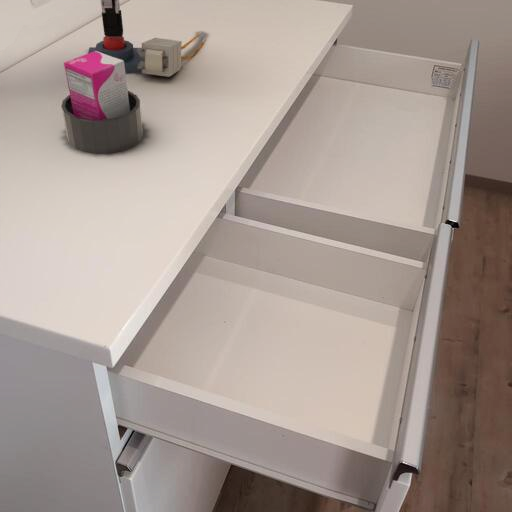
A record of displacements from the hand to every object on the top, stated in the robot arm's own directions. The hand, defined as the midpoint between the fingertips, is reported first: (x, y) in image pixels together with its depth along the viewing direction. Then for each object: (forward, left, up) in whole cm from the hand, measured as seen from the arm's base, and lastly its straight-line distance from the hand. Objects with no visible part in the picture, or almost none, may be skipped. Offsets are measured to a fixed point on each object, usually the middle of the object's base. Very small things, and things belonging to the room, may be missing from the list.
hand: (114, 34), depth 97 cm
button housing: (0, 0, -6) cm, 6 cm away
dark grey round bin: (0, -28, -6) cm, 29 cm away
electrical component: (+11, +3, -6) cm, 13 cm away
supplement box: (0, -28, -5) cm, 28 cm away
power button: (0, 0, -2) cm, 2 cm away
